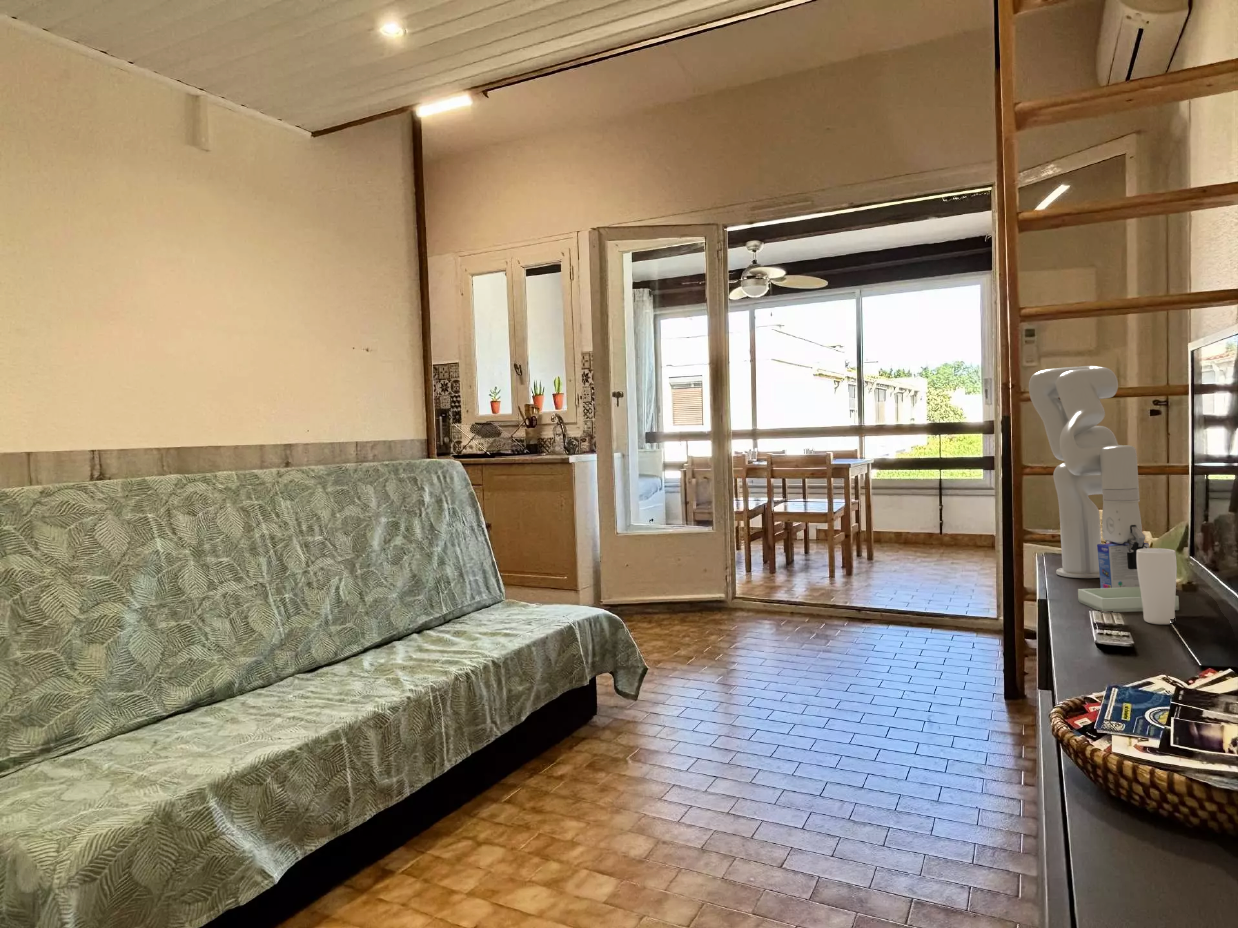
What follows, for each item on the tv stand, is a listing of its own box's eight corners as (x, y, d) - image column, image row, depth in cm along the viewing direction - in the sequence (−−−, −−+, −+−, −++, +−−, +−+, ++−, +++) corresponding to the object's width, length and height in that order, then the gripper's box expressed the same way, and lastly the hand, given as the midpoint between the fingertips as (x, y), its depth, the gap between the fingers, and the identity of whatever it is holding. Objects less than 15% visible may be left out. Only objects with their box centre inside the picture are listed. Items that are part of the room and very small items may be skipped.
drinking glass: (1167, 627, 154) (1163, 553, 154) (1132, 621, 160) (1128, 550, 160) (1186, 622, 157) (1183, 549, 157) (1152, 616, 163) (1148, 547, 163)
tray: (1078, 601, 181) (1077, 589, 181) (1149, 599, 179) (1149, 586, 179) (1102, 612, 170) (1101, 598, 170) (1179, 609, 168) (1178, 596, 168)
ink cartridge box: (1138, 589, 190) (1135, 531, 190) (1153, 593, 184) (1150, 533, 184) (1098, 591, 190) (1095, 533, 190) (1112, 596, 185) (1109, 536, 184)
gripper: (1087, 495, 196) (1091, 561, 196) (1122, 498, 179) (1127, 571, 179) (1119, 493, 195) (1123, 560, 195) (1157, 497, 178) (1161, 570, 178)
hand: (1125, 565), depth 187 cm, fingers open, 9 cm apart
